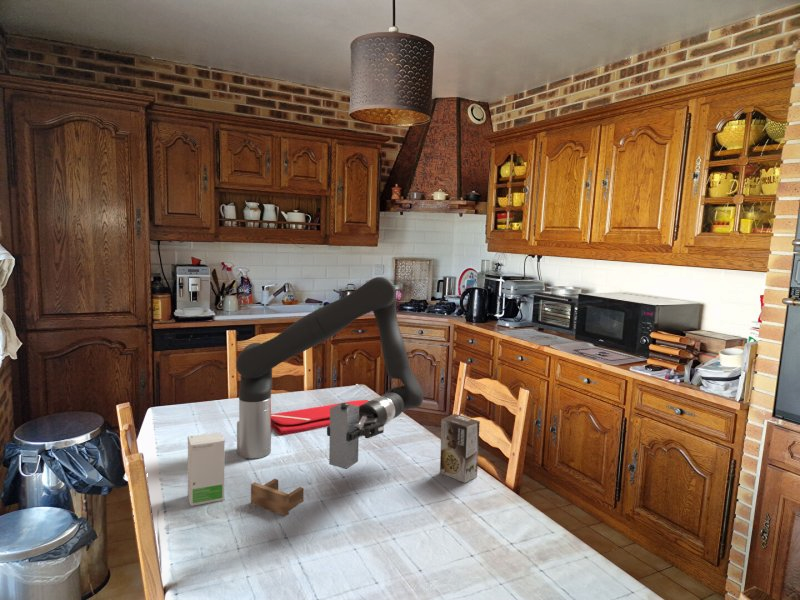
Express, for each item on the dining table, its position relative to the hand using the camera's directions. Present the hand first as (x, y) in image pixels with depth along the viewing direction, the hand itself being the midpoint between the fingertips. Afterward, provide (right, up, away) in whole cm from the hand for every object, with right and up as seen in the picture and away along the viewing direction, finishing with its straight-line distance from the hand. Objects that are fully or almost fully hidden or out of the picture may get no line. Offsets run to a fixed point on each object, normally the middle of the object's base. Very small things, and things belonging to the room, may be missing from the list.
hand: (338, 434), depth 122 cm
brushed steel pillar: (+1, -8, +3) cm, 8 cm away
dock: (-15, -18, +6) cm, 25 cm away
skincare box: (-34, -18, +8) cm, 39 cm away
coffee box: (+31, -18, +24) cm, 43 cm away
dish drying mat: (-12, -12, +66) cm, 68 cm away
